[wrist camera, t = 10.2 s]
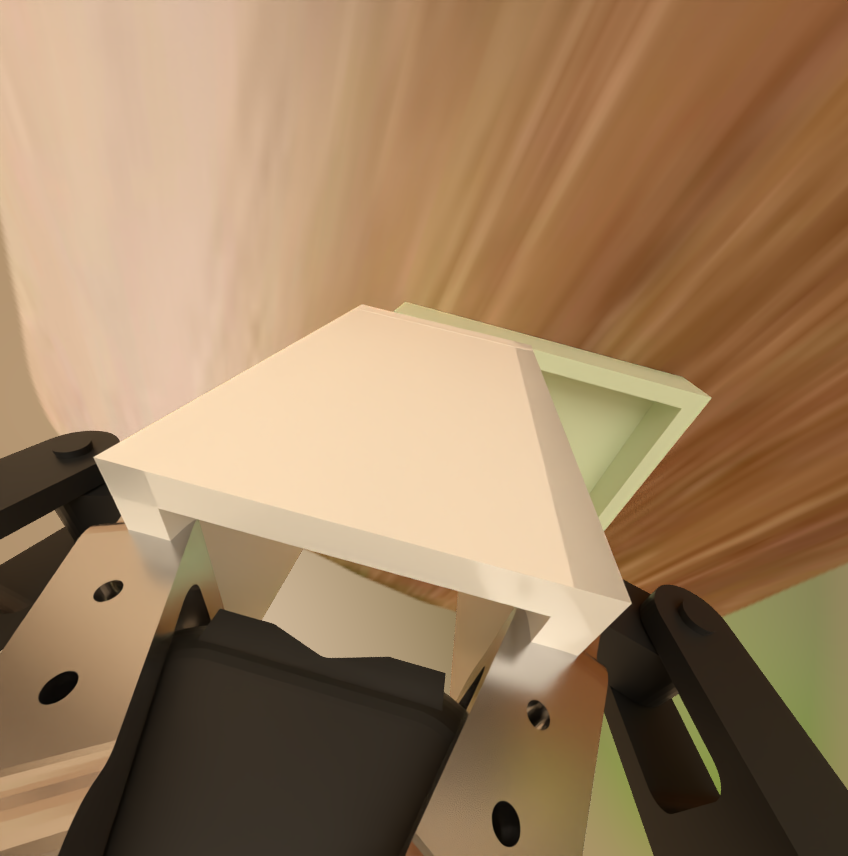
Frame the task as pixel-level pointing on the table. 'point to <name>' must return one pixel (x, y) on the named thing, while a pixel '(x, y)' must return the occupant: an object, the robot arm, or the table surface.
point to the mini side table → (385, 478)
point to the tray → (603, 410)
